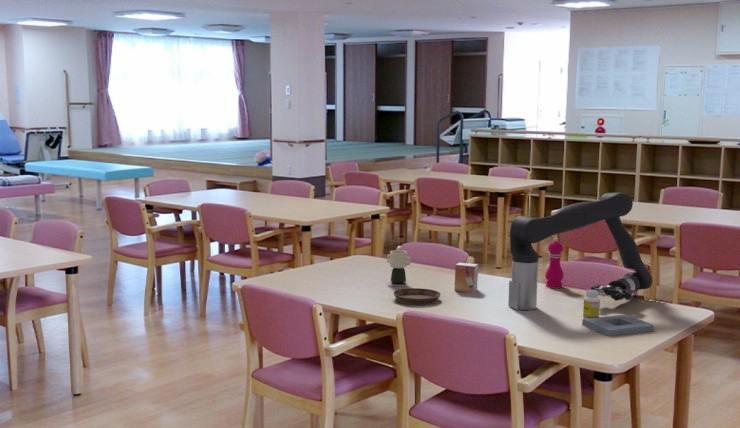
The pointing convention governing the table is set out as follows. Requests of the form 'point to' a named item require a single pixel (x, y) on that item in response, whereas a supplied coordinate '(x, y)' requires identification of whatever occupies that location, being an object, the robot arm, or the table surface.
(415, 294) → the plant saucer
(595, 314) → the supplement bottle
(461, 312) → the table surface
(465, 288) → the small box
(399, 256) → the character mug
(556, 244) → the pepper mill
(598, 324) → the hole board
